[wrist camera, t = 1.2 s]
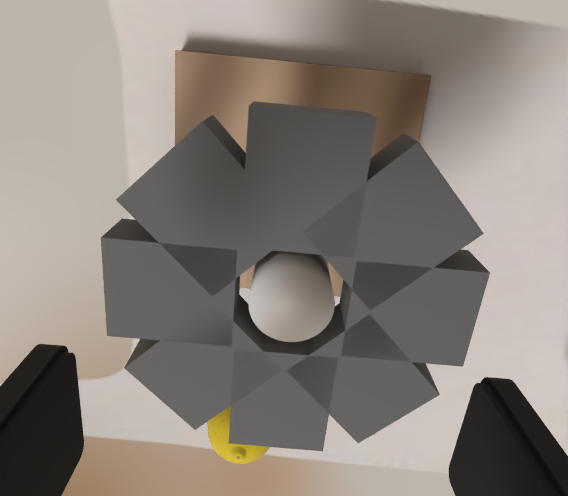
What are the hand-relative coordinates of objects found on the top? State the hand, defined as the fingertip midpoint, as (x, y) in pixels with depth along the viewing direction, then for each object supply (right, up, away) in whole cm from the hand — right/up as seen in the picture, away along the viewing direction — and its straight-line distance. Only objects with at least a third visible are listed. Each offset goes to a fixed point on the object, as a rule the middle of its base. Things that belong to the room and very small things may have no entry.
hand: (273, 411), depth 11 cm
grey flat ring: (+1, +3, +7) cm, 7 cm away
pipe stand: (+1, +9, +22) cm, 23 cm away
